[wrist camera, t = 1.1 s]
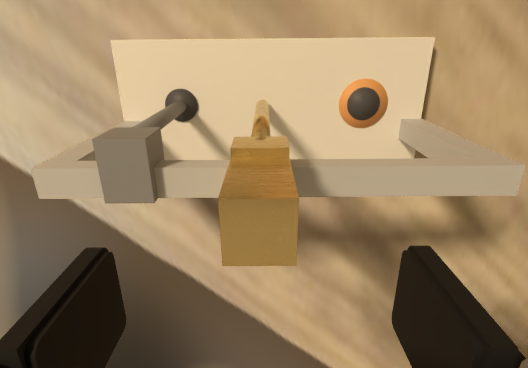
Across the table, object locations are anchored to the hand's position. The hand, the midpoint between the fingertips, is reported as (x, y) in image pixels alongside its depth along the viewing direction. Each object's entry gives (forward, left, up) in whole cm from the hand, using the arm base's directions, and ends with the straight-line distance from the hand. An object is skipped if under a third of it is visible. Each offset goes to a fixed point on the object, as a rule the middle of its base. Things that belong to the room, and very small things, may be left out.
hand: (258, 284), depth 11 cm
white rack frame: (-2, +1, -26) cm, 26 cm away
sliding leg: (0, 0, -24) cm, 24 cm away
